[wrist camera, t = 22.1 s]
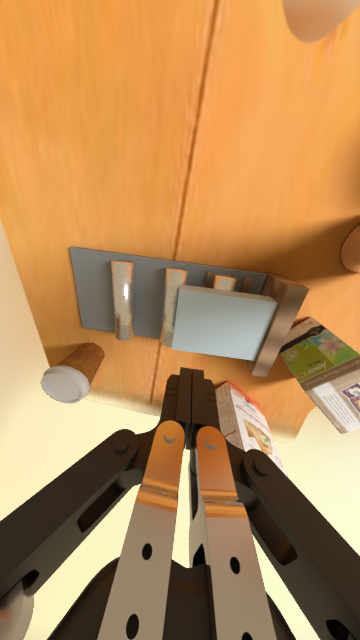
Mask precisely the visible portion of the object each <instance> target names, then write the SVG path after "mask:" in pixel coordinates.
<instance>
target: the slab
mask: <svg viewBox="0 0 360 640" xmlns="http://www.w3.org/2000/svg"><path fill="white" fill-rule="evenodd" d="M277 305H278V302H276V301H275V300H274V299H273V298H272V297H269V296H262V295H255V294H248V293H240V292H233V291H226V290H219V289H211V288H204V287H197V286H190V285H182V284H180V288H179V295H178V303H177V311H176V319H175V328H174V336H173V344H172V349H174V350H181V351H188V352H195V353H202V354H209V355H217V356H224V357H231V358H238V359H245V360H252V361H254V360H255V358H256V356H257V353H258V351H259V348H260V346H261V343H262V341H263V339H264V336H265V334H266V331H267V329H268V327H269V324H270V322H271V319H272V317H273V314H274V312H275V310H276V307H277Z"/></svg>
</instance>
